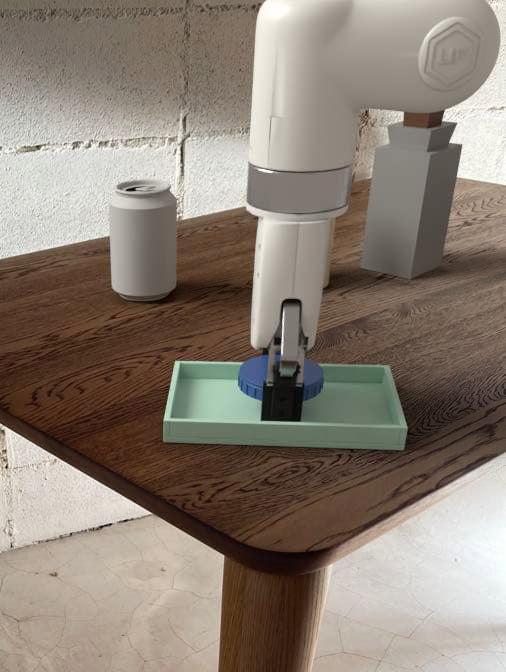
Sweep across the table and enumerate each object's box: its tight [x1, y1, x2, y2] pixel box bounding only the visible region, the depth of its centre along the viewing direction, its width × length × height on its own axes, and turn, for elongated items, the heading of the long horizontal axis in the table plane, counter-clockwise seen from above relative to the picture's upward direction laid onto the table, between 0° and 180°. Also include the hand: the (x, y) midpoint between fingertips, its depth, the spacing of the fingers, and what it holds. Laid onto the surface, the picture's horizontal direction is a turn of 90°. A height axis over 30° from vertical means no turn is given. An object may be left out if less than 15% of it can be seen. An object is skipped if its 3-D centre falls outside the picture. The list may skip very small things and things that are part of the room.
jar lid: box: [238, 354, 324, 401], centre depth 73 cm, size 7×7×1 cm
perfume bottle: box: [359, 110, 463, 280], centre depth 100 cm, size 7×7×18 cm
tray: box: [163, 360, 409, 451], centre depth 74 cm, size 19×12×2 cm, turn 81°
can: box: [108, 178, 178, 302], centre depth 98 cm, size 8×8×12 cm
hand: (279, 405), depth 74 cm, fingers closed on jar lid, 6 cm apart
